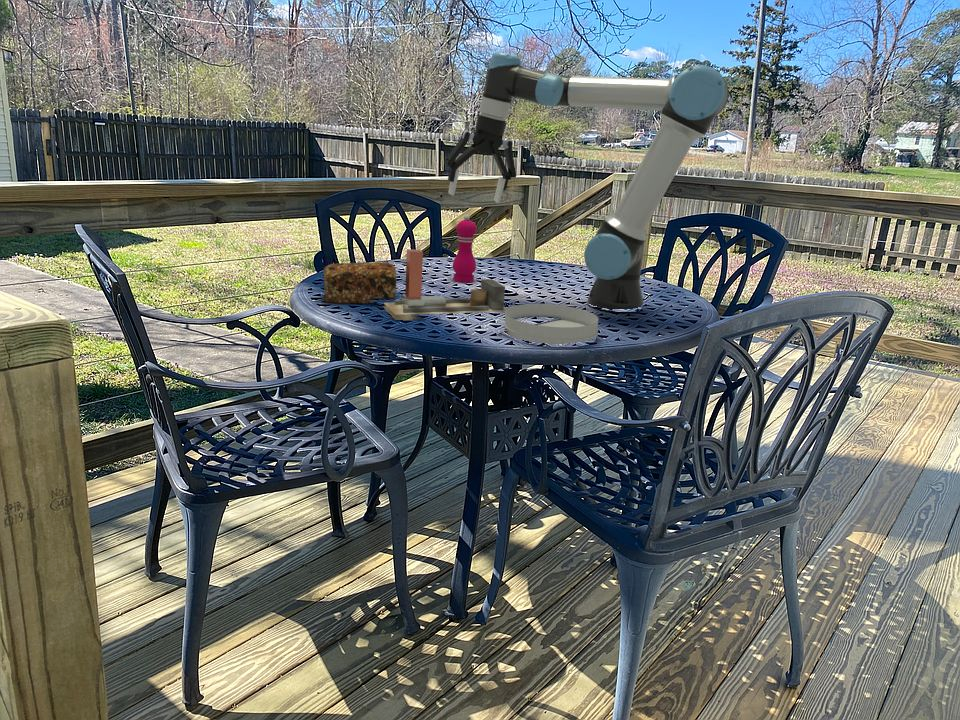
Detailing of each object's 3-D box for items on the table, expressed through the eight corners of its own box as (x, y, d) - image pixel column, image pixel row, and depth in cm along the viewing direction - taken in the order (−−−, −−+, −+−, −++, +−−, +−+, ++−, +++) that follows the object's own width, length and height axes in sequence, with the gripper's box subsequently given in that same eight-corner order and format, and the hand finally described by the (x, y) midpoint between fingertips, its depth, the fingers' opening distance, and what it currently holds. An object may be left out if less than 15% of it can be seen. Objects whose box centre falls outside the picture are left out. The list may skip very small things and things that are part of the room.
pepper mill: (474, 283, 223) (478, 217, 217) (451, 282, 223) (454, 215, 217) (475, 279, 230) (479, 214, 224) (452, 277, 230) (455, 212, 224)
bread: (394, 296, 201) (394, 260, 198) (396, 305, 191) (397, 267, 188) (324, 294, 198) (324, 257, 195) (323, 304, 188) (322, 265, 185)
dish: (497, 343, 164) (499, 322, 162) (507, 319, 185) (509, 300, 183) (597, 353, 161) (600, 331, 160) (596, 328, 182) (598, 308, 181)
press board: (493, 305, 197) (495, 278, 195) (510, 316, 187) (512, 287, 184) (383, 308, 187) (384, 279, 184) (395, 320, 176) (395, 290, 174)
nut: (488, 306, 189) (489, 291, 188) (477, 308, 186) (478, 293, 185) (477, 303, 192) (478, 288, 190) (466, 305, 189) (467, 290, 188)
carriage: (440, 303, 188) (442, 248, 184) (447, 308, 183) (449, 252, 179) (401, 304, 185) (403, 248, 181) (408, 309, 180) (410, 252, 175)
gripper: (528, 124, 198) (509, 201, 206) (443, 105, 188) (426, 187, 195) (540, 128, 192) (520, 208, 200) (453, 109, 181) (435, 194, 189)
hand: (474, 198), depth 197 cm, fingers open, 13 cm apart
